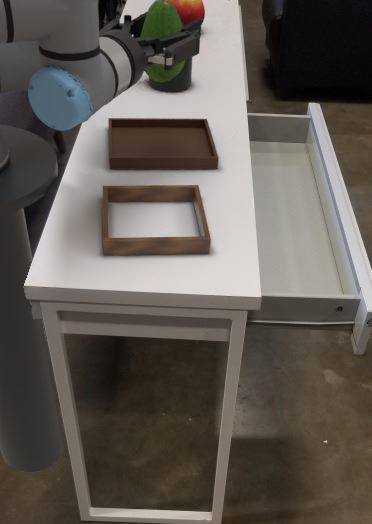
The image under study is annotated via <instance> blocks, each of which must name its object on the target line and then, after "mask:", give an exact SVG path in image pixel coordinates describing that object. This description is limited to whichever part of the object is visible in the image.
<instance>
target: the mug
mask: <svg viewBox="0 0 372 524" xmlns="http://www.w3.org/2000/svg"><path fill="white" fill-rule="evenodd" d="M144 72H145V70H144ZM192 72H193V57H191V58H189V59H187V60H185V63H184V66H183V68H182V69H181V71H180V72H179V74H178V75H176V76H175V77H174V78H172V79H171V80H169V81H166V82H163V83H162V82H157V81H154V80H153V79H151V78H150V77H148V83H149V85H150V86H151V87H152V88H154V89H156V90H158V91H162V92H169V93H171V92H172V93H173V92H174V93H175V92H182V91H185V90H188V89H189V88H190V87H191V85H192Z"/></svg>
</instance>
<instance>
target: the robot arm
mask: <svg viewBox="0 0 372 524" xmlns="http://www.w3.org/2000/svg"><path fill="white" fill-rule="evenodd" d="M147 12H148V10H147V11H146V12H144V13H141V14H142V15H141V14H139V15H138V16H139V17H138V16H137V17H135V18H133V19H132V15H131V14H124V15H123V23H121V22H120V21H121V20H120V19H117V18H114V19H112V20H110V22H108V23H106V25H105V26H103V27H102V28H101V29H100V19H99V0H0V95H3V94H11V93H17V92H18V93H19V92H26V91H27V97H28V102H29V105H30V107H31V109H32V111H33V113H34V114H35V116H36V117H37V118H38V119H39V120H40V122H42V123H43V124H44V125H46V126H47V127H48V128H50V129H53V130H56V131H59V132H62V131H63V132H65V131H69V130H72V129H73V128H75V127H77V126H79V125H80V124H83V123H85V122H87V121H89V120H90V119H91V118H92V116H94V115H95V114H96V113H97V112H98V111H100V110H101V109H102V108H103V107H105V106H106V105H108V104H109V103H111V102H112V101H113V100H114V99H116V98H117V97H119V96H120V95H122V94H123V93H124V92H126V91H128V90H129V89H130V88H132V87H133V86H135V85H136V84H137V83H138V82H139V81H140V79H141V78H142V77H143V74H144V73H145V71H144V70H145V69H146V68H149V67H152V66H154V64H156V63H157V64H162V66H163V67H164V70H166V71H171V70H172V69H173V68H174V66H176V65H178V64H180V63H182V62H183V61H185V60H187V59H189V58H191V57H192V58H193V57H195V56H197V55H199V54H200V47H201V46H200V45H201V37H202V35H201V34H202V25H201V21H202V19H199V18H197V19H195V20H194V21H192V22H191V23H189V24H188V25H186V26H185V27H183V28H182V29H181V33H177V34H173V35H169V36H165V37H161V38H156V37H154V36H150V37H146V38H140V36H141V32H142V29H143V25H144V22H145V18H146V15H147ZM9 163H10V156H9V150H8V147H7V145H6V142H5V141H4V139H3V137H2V135H1V133H0V174H1V173H2V172H3V171H4V170H5V169H6V168H7V167H8V165H9Z"/></svg>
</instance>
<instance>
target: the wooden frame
mask: <svg viewBox="0 0 372 524" xmlns="http://www.w3.org/2000/svg"><path fill="white" fill-rule="evenodd" d="M141 202H142V203H143V202H144V203H145V202H146V203H147V202H148V203H151V202H155V203H156V202H193V206H194V211H195V215H196V220H197V224H198V229H199V234H200V236H196V235H195V236H144V237H143V236H140V237H139V236H137V237H136V236H135V237H133V236H132V237H110V219H109V218H110V211H109V209H110V208H109V207H110V206H109V203H141ZM204 207H205V206H204V202H203V198H202V195H201V190H200V185H199V184H168V185H167V184H162V185H159V184H157V185H156V184H155V185H154V184H153V185H152V184H151V185H146V184H145V185H141V184H139V185H102V242H103V243H102V245H103V255H104V256H128V255H129V256H133V255H134V256H136V255H137V256H138V255H139V256H141V255H142V256H143V255H191V254H192V255H193V254H196V255H197V254H210V253H211V242H212V238H211V233H210V229H209V225H208V220H207V216H206V211H205V208H204Z"/></svg>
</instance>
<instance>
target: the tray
mask: <svg viewBox="0 0 372 524" xmlns="http://www.w3.org/2000/svg"><path fill="white" fill-rule="evenodd" d="M107 120H108V121H107V123H108V124H107V125H108V156H109V157H108V160H109V170H218V167H219V159H220V158H219V155H218V151H217V148H216V145H215V141H214V138H213V135H212V131H211V127H210V124H209V121H208V118H165V117H163V118H162V117H161V118H153V117H150V118H148V117H147V118H143V117H141V118H139V117H136V118H135V117H133V118H132V117H108V118H107Z"/></svg>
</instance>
